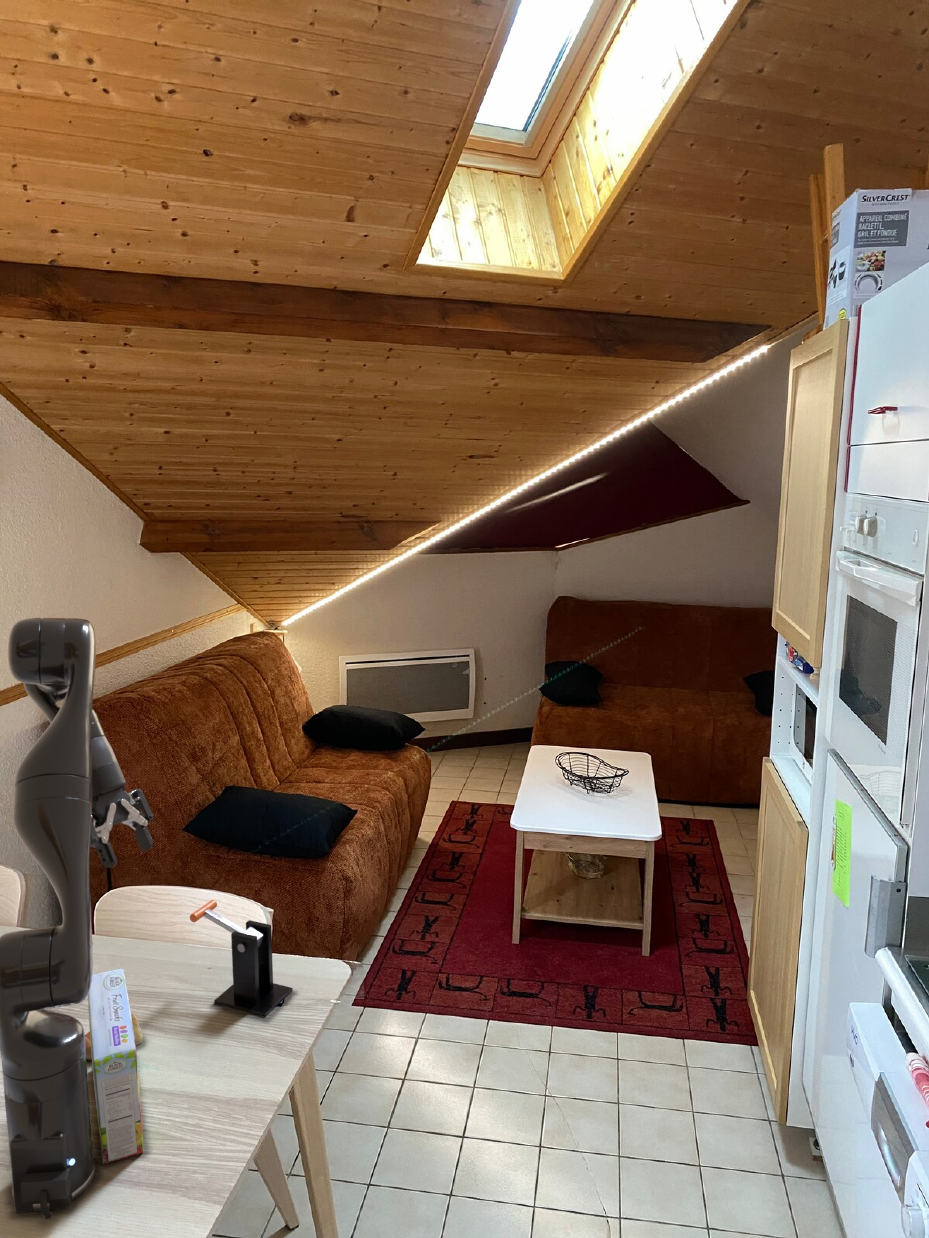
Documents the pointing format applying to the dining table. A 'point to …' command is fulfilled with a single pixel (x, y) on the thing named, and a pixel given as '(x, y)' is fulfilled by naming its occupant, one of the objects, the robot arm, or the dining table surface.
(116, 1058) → the snack box
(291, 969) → the dining table surface
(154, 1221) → the dining table surface
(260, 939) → the lever
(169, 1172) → the dining table surface
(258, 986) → the bracket
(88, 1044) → the pastry
